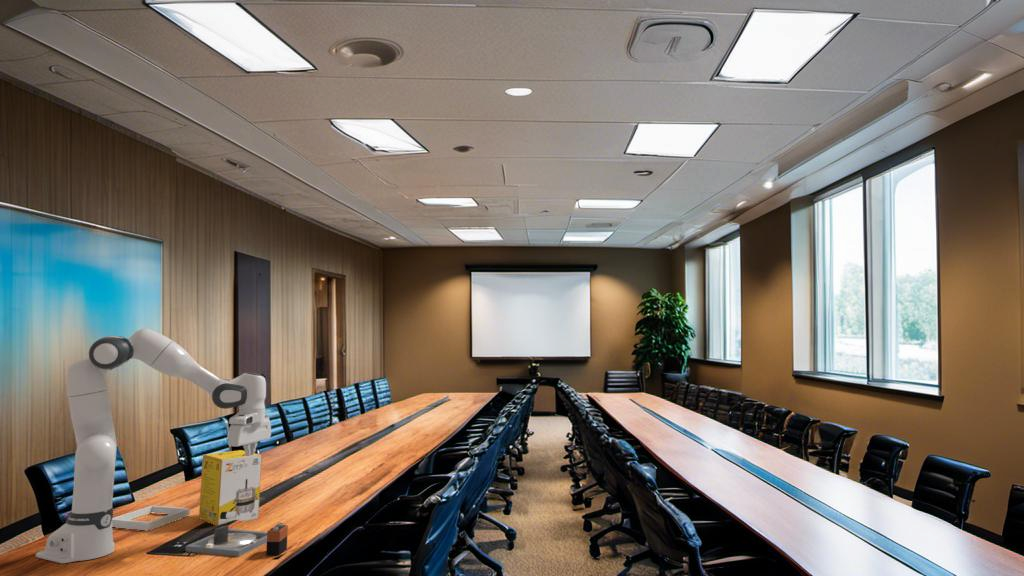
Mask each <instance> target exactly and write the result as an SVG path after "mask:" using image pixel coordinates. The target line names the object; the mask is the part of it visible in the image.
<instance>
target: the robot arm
mask: <svg viewBox="0 0 1024 576" xmlns="http://www.w3.org/2000/svg"><path fill="white" fill-rule="evenodd" d="M132 359H133V360H134V359H135V360H139V361H141V362H142V363H144V364H145V365H147V366H148V367H150V368H152V369H154V370H156V371H157V372H159V373H161V374H163V375H164V374H165V375H167V376H169V377H175V378H181V379H185V380H187V381H189V382H191V383H192V384H194V385H196V386H198V387H199V388H201V389H202V390H204V391H206V392H207V394H209V395H210V396H211V399H212V402H213V405H215V406H216V407H217V408H218V409H223V410H229V409H232V408H236V407H238V412H237V413H236V414H235V415H233V416H231V417H230V418H229V419H228V424H230V426H229V428H228V434H227V435H228V436H227V439H228V440H227V443H228V446H230V447H241V446H242V447H243V449H244V451H245V456H251V455H254V453H255V452H256V451H255V450H256V449H257V446H258V442H261V441H266V440H270V439H271V436H272V424H271V421H270V416H269V415H267V414H266V404H265V400H266V398H267V381H266V377H264V375H262V374H260V373H255V372H249V371H248V372H247V371H246V372H244V373H242V374H241V375H239V376H236V377H234V378H232V379H226V378H221V377H220V376H217V375H215V374H214V373H212V372H211V371H209V370H207V369H206V368H204V367H203V366H201V365H200V364H199V363H198V362H197V361H196V360H195V359H194V358H193V357H192V355H190V353H189V352H188V351H186V349H185V348H183V347H182V346H181V345H180V344H178V343H177V342H176V341H174V340H173V339H171V338H170V337H167V336H166V335H164V334H163V333H160V332H157V331H155V330H153V329H151V328H146V327H145V328H141V329H139V330H137V331H136V332H134V333H133V334H132V335H131V336H129V337H128V338H126V337H124V336H122V335H121V336H120V335H107V336H104V337H102V338H99V339H97V340H96V341H94V342H93V343H92V345H90V348H89V349H88V358H87V359H82V360H78V361H76V362H73V364H70V365H69V367H68V369H67V373H66V374H67V375H66V389H67V399H68V406H69V412H70V418H71V423H72V429H73V433H74V437H75V442H76V450H75V456H74V473H73V492H72V502H71V504H72V505H71V511H69V512H67V513H64V517H63V518H67V519H66V521H65V523H64V524H63V525H61V526H60V527H59V528H58V529H56V530H55V531H53V532H52V533H51V534H49V536H48V538H47V540H46V542H45V543H46V544H45V548H43V549H42V550H40V551H37V552H36V553H35V557H36V558H39V559H43V560H48V561H49V562H55V563H59V564H67V563H72V562H73V563H74V562H78V561H79V562H82V561H88V560H93V559H98V558H101V557H106V556H107V555H108V556H109V555H110V554H112V553H114V552H115V550H116V549H115V542H114V538H113V537H114V535H113V534H114V533H113V530H114V528H112V522H111V521H112V518H114V506H113V496H114V486H115V485H114V484H115V474H116V472H115V471H116V461H117V447H118V442H117V437H116V430H115V426H114V421H113V420H114V419H113V414H112V408H111V401H110V395H109V388H108V382H107V375H108V373H109V372H110V371H112V370H114V369H118V368H120V367H123V366H124V365H125V364H127V363H128V362H129V361H130V360H132Z"/></svg>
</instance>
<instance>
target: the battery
mask: <svg viewBox="0 0 1024 576" xmlns="http://www.w3.org/2000/svg"><path fill="white" fill-rule="evenodd" d="M288 530H289V526H288V525H287V524H284V523H283V522H278V523H277V522H276V525H274V526H273V527H271V528H269V529H268V530H267V531H266V532H267V543H266V552H265V553H266V555H265V556H267V557H268V556H270V557H271V556H272V557H273V558H272V560H279V559H281V558H282V557H283V556H284V555H285V553H284V552H285V551H287V549H288V533H289V532H288Z"/></svg>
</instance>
